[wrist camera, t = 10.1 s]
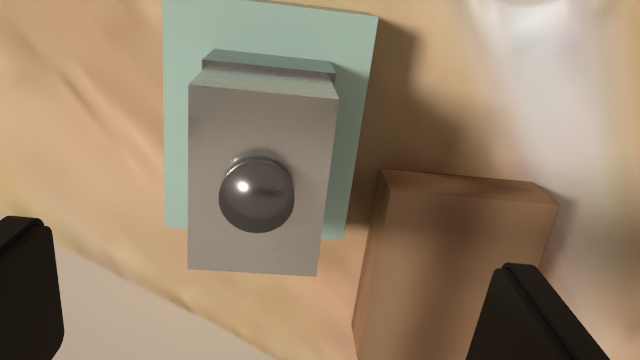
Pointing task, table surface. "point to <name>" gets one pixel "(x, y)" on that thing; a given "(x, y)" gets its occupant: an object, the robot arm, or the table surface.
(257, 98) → the block
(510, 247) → the stand walnut
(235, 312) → the table surface
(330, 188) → the stand teal
